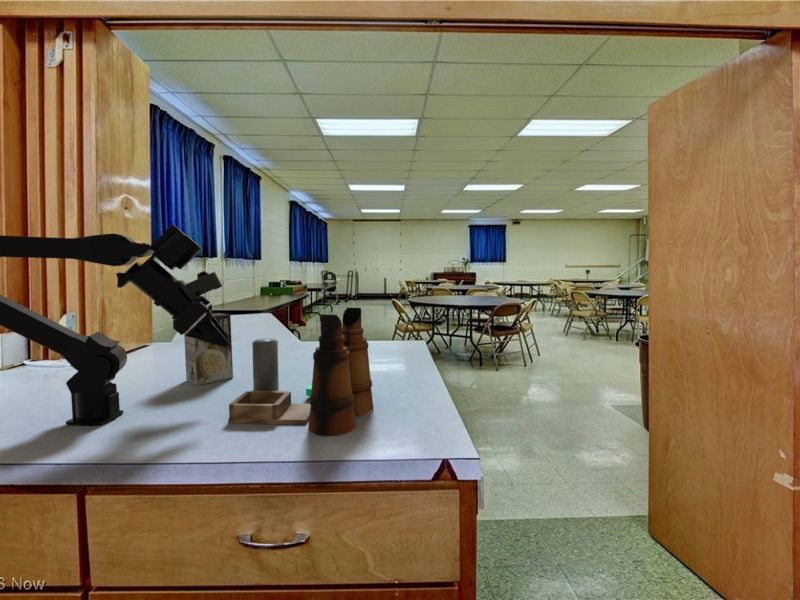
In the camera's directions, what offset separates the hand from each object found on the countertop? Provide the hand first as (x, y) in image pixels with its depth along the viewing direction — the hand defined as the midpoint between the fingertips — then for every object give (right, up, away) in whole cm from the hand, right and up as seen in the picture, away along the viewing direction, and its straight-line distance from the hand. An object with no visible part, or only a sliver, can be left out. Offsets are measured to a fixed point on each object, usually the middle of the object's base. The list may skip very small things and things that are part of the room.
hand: (227, 341), depth 87 cm
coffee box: (-12, -12, +20) cm, 26 cm away
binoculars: (+24, -14, -6) cm, 28 cm away
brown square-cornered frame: (+11, -13, -5) cm, 18 cm away
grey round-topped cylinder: (+7, -13, +4) cm, 15 cm away
